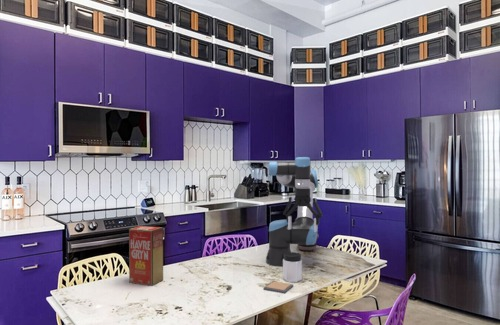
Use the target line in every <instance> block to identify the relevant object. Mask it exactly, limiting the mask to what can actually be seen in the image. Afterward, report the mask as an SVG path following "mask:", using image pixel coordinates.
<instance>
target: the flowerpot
mask: <svg viewBox="0 0 500 325" xmlns="http://www.w3.org/2000/svg"><path fill="white" fill-rule="evenodd" d="M318 239H319V233H318V232H317V239H316V243H315V244H314V245H301V244H297V248H298V250H299V251H302V252H314V251H315V250H316V249H317V241H318Z"/></svg>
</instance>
